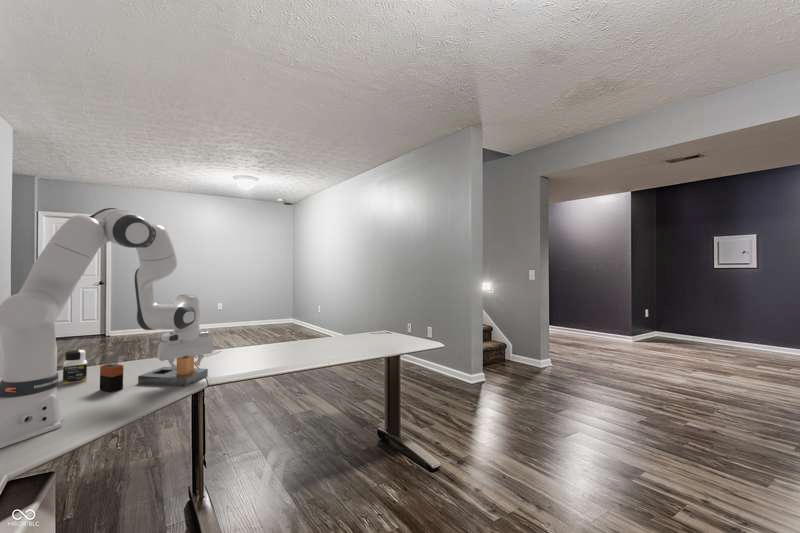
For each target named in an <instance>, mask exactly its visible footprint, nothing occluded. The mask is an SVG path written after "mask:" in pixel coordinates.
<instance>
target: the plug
mask: <svg viewBox="0 0 800 533" xmlns="http://www.w3.org/2000/svg"><path fill="white" fill-rule="evenodd" d="M176 365H177V375H189V374H191V373H193V372H194V368H195V356H191V357H188V356H184V357H183V358H178V359H176Z"/></svg>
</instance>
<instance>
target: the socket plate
mask: <svg viewBox="0 0 800 533" xmlns="http://www.w3.org/2000/svg"><path fill="white" fill-rule="evenodd" d="M208 369H209V368H200V367H199V368H196V367H194V372H193V373H191V374H189V375H177V370H172V369H171V366H163V367H159V368H157V369H154V370H151V371H149V372H146V373H145V372H144V373H143V374H140V375H138V377H137V384H140V385H159V386H174V385H187V386H189V385H188V384H190V383H192V382H194V381H196V380H198V381H200V380H202V379H204V378H207V377H208V374H209V373H208V372H209V370H208ZM201 378H202V379H201ZM199 379H200V380H199ZM196 382H197V381H196ZM194 383H195V382H194ZM192 384H193V383H192ZM190 385H191V384H190Z"/></svg>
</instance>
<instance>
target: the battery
mask: <svg viewBox="0 0 800 533" xmlns="http://www.w3.org/2000/svg"><path fill="white" fill-rule="evenodd" d="M99 368H100V370H99V390H100V391H103V392H107V393H114V392H117V391H121V390H123V388H124V365H123V364H119V362H111V361H110V362H106V363H105V364H103V365H100V366H99Z"/></svg>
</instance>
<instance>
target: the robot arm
mask: <svg viewBox="0 0 800 533" xmlns="http://www.w3.org/2000/svg"><path fill="white" fill-rule="evenodd" d="M110 242H111V243H113V244H116V245H119V246H122V247H124V248H125V247H126V248H131V249H133V248H135V249H136V252H137V257H138V260H139V268H137V269H136V270H135V273H134V288H135V289H134V290H135V299H136V305H137V306H136V307H137V311H136V322H137V324H138V325H139V327H140V328H141V329H142V330H145V331H155V330H156V331H157V330H161V331H162V330H164V331H165V330H167V331H168V332H166V333H163V334H161V335H160V339H161V341H160V342H159V343H158V347H157V353H156V356H157V357H156V358H157V359H158V360H160V361H161V362H164V361H168V362H169V365H170V367H171V369H172V370H177V364H174V362H175V360H177V359H178V358H183V357H184V356H188V357H191V356H194V357H195V356H196V357H198V359H196V360H197V361H195V360H194V367H201V362H202V360H203V359H204V355H210V354H213V352H214V342H213V340H214V335H213V333H212V332H210V331H206V332H204V331H203V332H200V322H199V319H200V315H201V314H200V302H199V301H200V300H199V297H198V296H196V295H192V294H179V295H177V297H176V301H175V302H174V303H172V304H161V303H157V302H156V301H155V298H154V286H153V284H154V283H155V282H158V281H161V280H163V279H166V278H167V277H169V276H170V275H172V274H173V273H174V272H175V270H176V268H177V264H178V262H177V261H178V260H177V257H176V255H177V254H176V252H175V248H174V245H173V242H172V239H171V237H170V234H169V233H168V230H166V228H165V227H164V226H162V225H159V224H154V223H149V221H147V220H146V219H145V218H144V217H143V216H140V215H138V214H134V213H132V212H130V211H128V210H123V209H118V208H115V207H109V208H108V207H106V208H103V209H100V210H99V211H98V210H97V212H95V213H94V214H91V215H89V216H87V215H80V214H79V215H73V216H71V217H69V218H68V219H67V220H66V221H65V222H64V223H63V224H62V225H61V226H60V227H59V228H58V230H57V231H56V232H55V233H54V234H53V236H52V237H51V238H50V240H49V241H48V242H47V244H46V246H45V247H44V248H43V250H42V251H41V253H40V254H39V256H38V258H36V260H35V262H34V263H33V265H32V266H31V269H30V272H29V274H28V276H27V278H26V279H25V281H24V283H23V285H22V287H21V288H20V290H19V292H18V293H15V294H12V295H10V296H8V297H7V298H6V299H4V300H3V301H2V302H1V303H0V340H1V346H2V354H3V355H2V357H3V358H2V379H1V380H0V449H2V448H6V447H7V446H10V445H14V444H16V443H19V442H22V441H25V440H28V439H30V438H34V437H37V436H40V435H42V434H45V433H48V432H50V431H53V430H56V429H59V428H61V427H62V422H63V416H62V413H61V409H60V405H59V404H60V403H59V399H58V398H59V397H58V390H57V387H58V386H59V381H60V379H59V373H58V372H57V371H58V370H57V369H58V366H57V365H58V346H57V339H56V326H55V322H56V321H55V320H56V319H57V318H58V317H59V316H60V314H61V313H62V311H63V309H64V308H65V305H67V303H68V301H69V299H70V297H71V296H72V294H73V292H74V290H75V288H76V287H77V285H78V283H79V282H80V280H81V278H82V277H83V275H84V273H85V272H86V270H87V269H88V267H90V264H91V262H92V261H93V259H94V258H95V256H96V254H97V253H98V251H99V249H100V248H101V247H103V246H104V245H105V244H107V243H110ZM169 330H170V331H169Z"/></svg>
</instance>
